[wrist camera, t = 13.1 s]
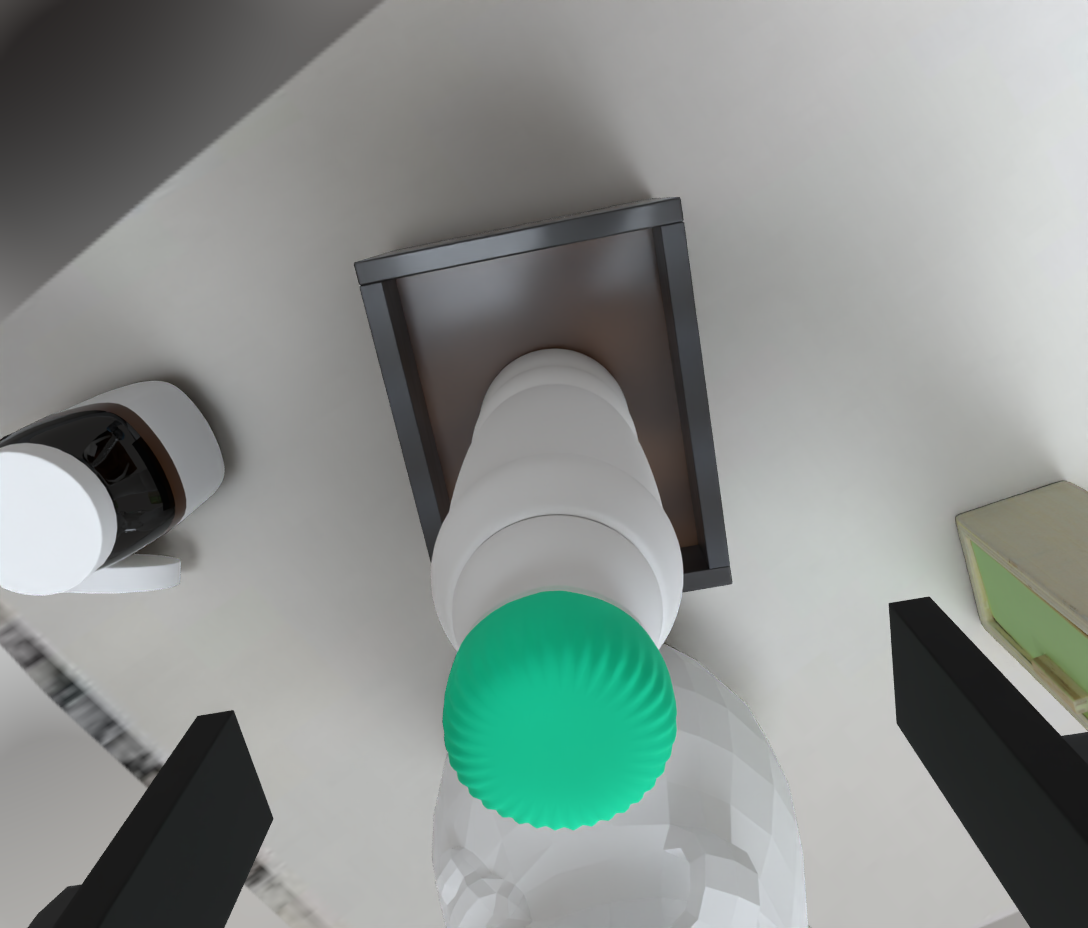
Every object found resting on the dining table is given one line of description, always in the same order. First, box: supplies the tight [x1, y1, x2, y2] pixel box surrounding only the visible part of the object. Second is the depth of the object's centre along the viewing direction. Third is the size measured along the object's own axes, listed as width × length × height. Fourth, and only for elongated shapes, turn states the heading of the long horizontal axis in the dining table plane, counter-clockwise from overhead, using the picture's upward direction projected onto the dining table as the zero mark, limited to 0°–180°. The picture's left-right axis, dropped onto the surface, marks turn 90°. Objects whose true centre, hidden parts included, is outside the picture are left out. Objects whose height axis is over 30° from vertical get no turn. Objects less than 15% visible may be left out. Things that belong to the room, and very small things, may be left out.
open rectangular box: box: [354, 197, 732, 592], centre depth 41 cm, size 18×14×9 cm
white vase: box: [432, 644, 811, 928], centre depth 39 cm, size 19×18×25 cm
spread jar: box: [0, 381, 224, 596], centre depth 41 cm, size 12×11×12 cm
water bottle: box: [431, 349, 683, 831], centre depth 27 cm, size 7×7×25 cm
